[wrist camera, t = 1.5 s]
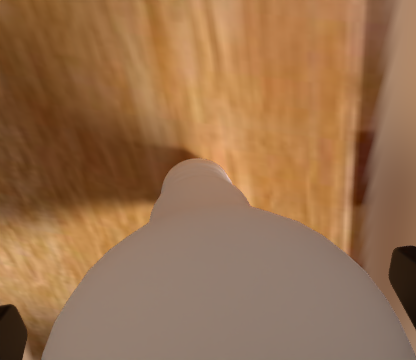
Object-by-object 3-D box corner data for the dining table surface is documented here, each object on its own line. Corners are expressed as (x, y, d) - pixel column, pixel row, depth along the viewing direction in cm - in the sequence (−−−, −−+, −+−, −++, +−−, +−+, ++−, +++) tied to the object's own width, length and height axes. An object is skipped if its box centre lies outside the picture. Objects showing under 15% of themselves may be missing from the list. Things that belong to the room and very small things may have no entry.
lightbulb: (95, 113, 12) (-340, 695, 2) (270, 90, 12) (777, 474, 2) (132, 253, 14) (50, 784, 4) (273, 232, 14) (491, 690, 5)
